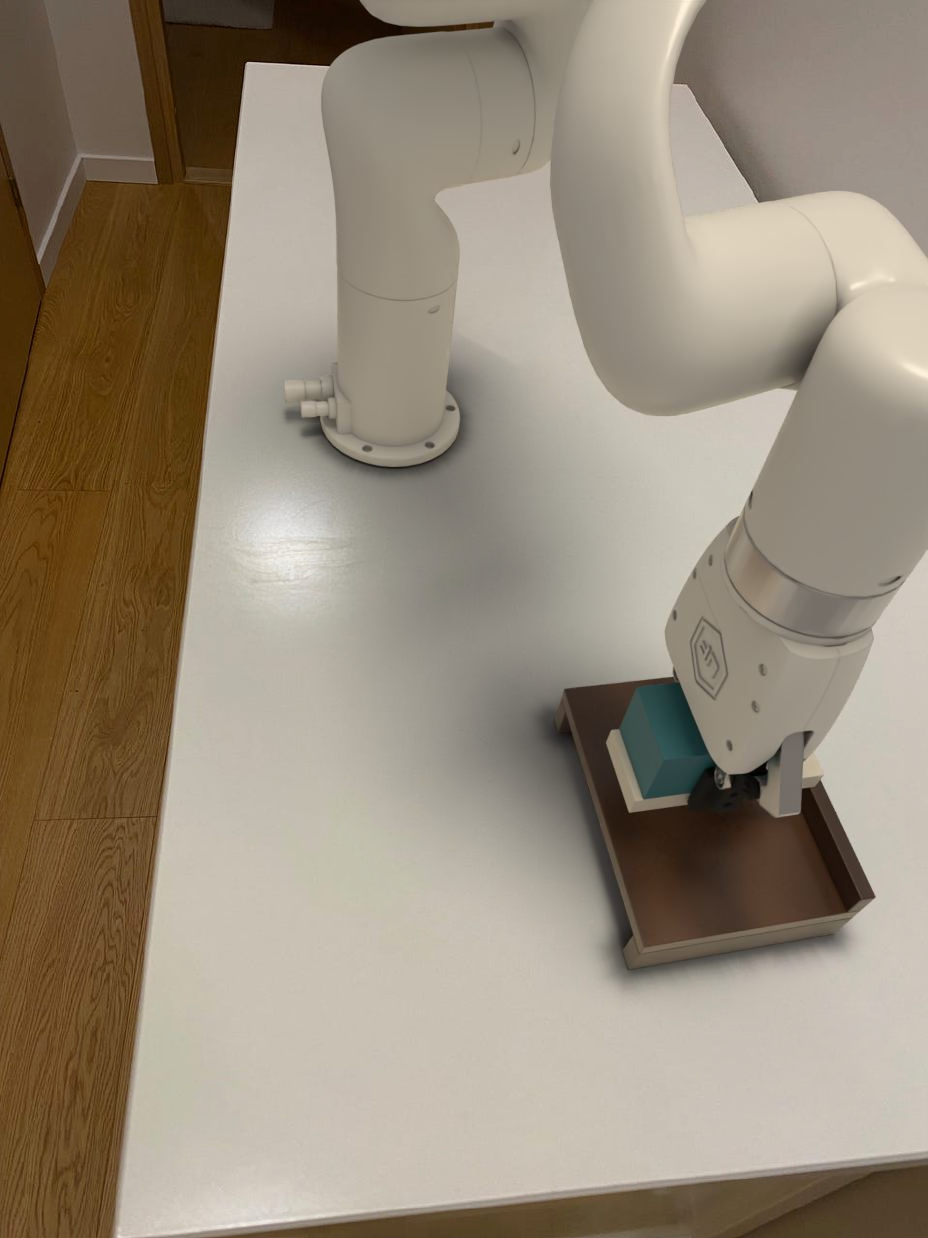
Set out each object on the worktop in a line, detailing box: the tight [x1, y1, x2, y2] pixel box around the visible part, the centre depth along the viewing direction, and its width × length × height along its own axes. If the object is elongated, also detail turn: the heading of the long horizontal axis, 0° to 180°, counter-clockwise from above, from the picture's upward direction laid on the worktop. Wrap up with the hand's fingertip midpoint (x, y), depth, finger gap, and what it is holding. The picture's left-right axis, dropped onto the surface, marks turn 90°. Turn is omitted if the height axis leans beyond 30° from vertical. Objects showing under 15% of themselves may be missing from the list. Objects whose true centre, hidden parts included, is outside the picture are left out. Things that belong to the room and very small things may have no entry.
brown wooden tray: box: [554, 676, 877, 970], centre depth 62 cm, size 14×18×6 cm
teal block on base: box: [606, 682, 825, 813], centre depth 55 cm, size 12×5×6 cm, turn 101°
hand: (696, 760), depth 57 cm, fingers closed on teal block on base, 4 cm apart
